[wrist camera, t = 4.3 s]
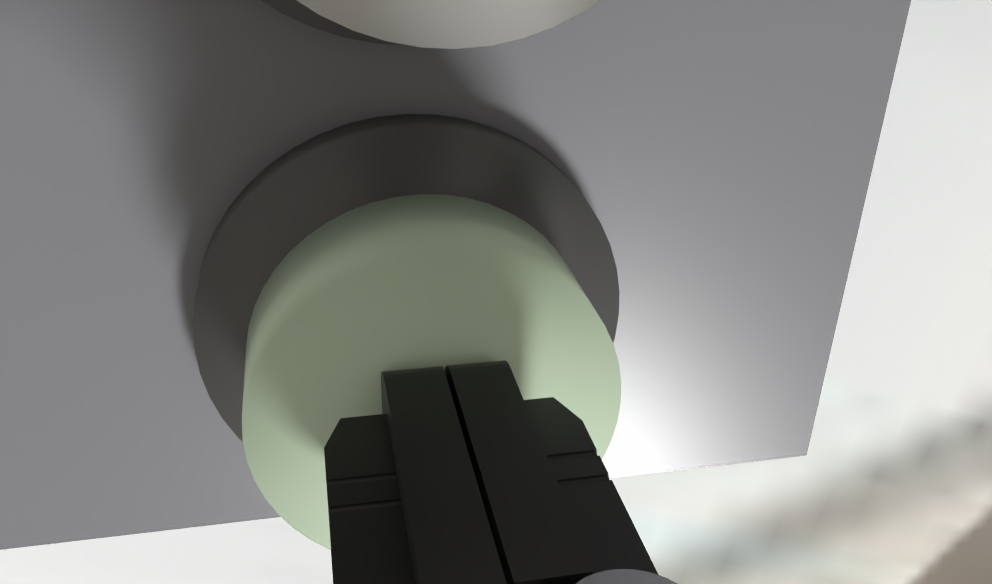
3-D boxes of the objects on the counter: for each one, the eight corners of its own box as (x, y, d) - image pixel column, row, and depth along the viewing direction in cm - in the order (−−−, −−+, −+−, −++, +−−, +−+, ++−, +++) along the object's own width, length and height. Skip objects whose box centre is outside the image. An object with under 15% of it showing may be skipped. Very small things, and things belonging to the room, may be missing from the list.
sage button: (227, 204, 11) (219, 263, 10) (596, 184, 12) (638, 234, 10) (263, 503, 13) (260, 586, 12) (573, 468, 14) (605, 542, 13)
